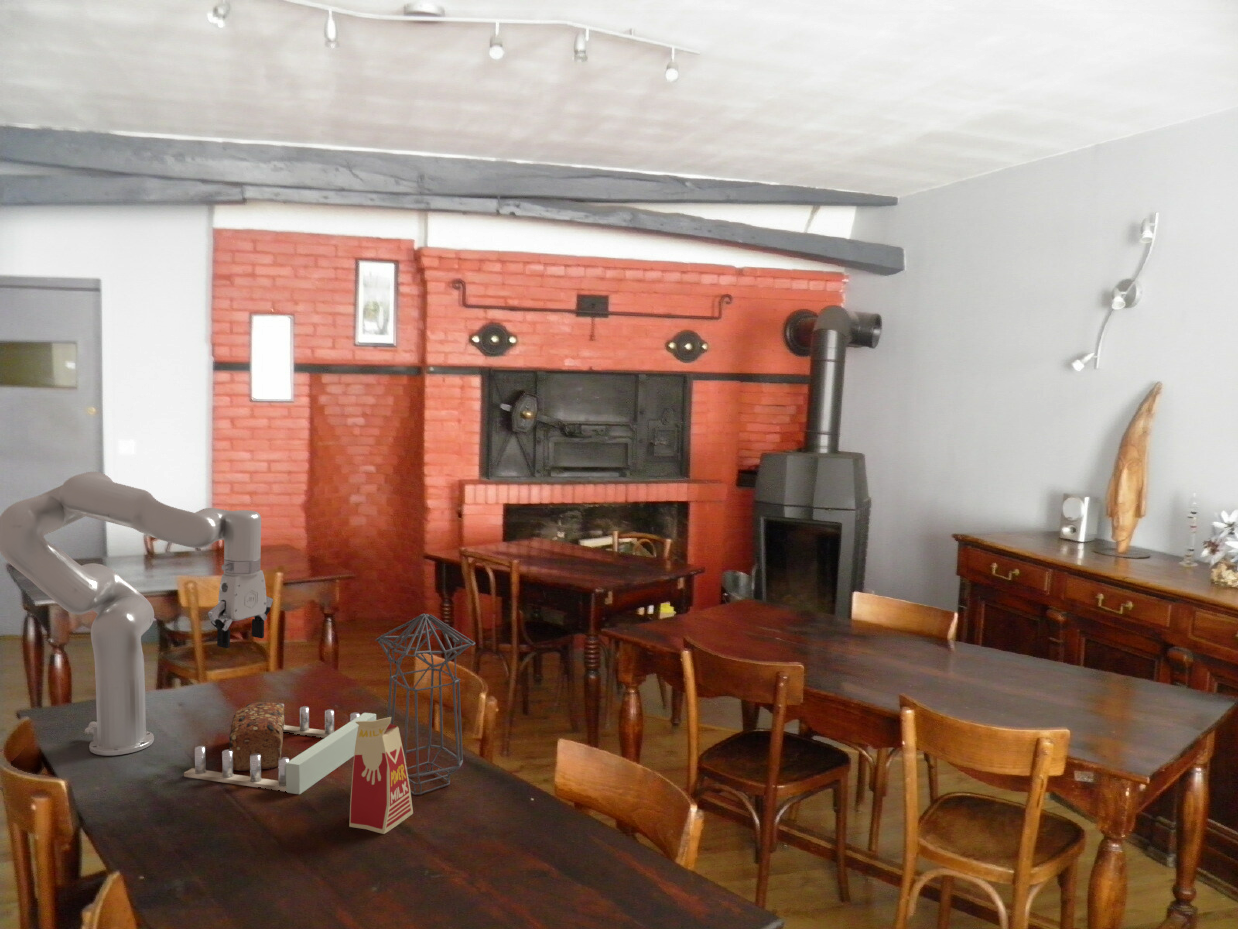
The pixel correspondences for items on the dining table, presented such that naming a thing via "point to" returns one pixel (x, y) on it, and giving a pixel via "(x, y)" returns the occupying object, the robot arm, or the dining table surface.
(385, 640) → the geometric lantern
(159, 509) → the robot arm
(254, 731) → the bread
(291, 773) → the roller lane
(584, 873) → the dining table surface
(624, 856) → the dining table surface
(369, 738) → the milk carton
